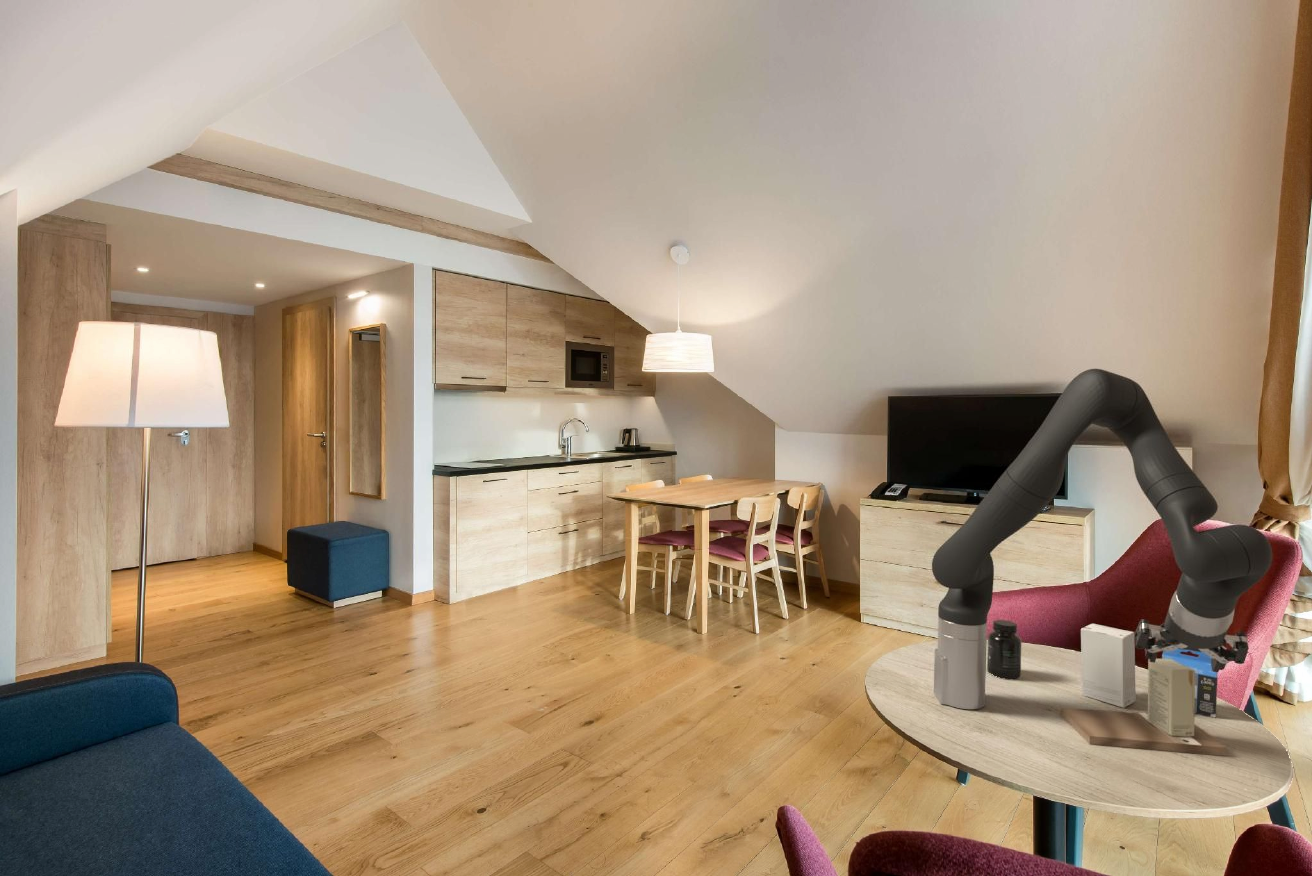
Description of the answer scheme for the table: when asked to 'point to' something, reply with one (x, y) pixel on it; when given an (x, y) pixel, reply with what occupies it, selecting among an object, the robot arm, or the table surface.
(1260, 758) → the table surface
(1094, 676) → the skincare box
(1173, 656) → the label tape cartridge
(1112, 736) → the subfloor panel
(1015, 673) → the supplement bottle
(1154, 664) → the skincare box
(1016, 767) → the table surface
